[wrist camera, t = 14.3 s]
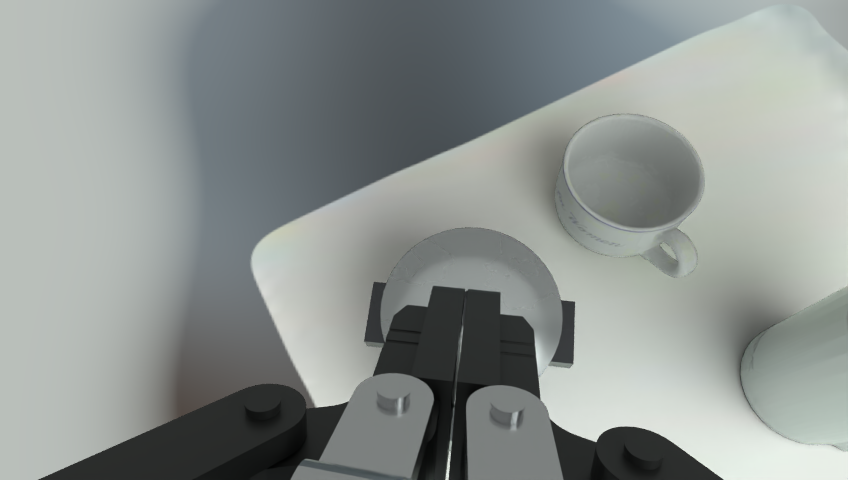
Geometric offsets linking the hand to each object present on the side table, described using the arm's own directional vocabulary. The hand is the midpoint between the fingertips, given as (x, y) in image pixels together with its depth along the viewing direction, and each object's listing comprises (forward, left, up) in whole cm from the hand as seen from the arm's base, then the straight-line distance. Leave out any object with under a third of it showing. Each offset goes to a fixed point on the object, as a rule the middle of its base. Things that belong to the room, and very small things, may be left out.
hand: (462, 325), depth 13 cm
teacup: (-1, -23, -36) cm, 43 cm away
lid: (+4, -7, -27) cm, 28 cm away
